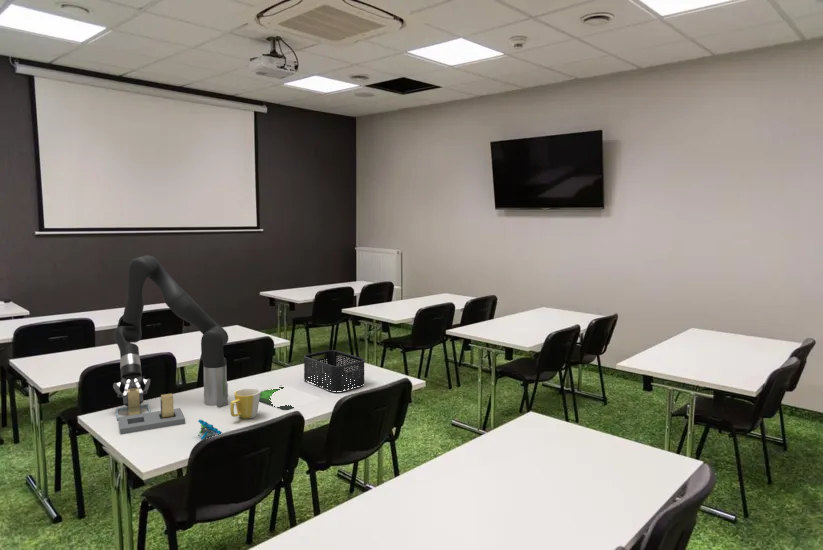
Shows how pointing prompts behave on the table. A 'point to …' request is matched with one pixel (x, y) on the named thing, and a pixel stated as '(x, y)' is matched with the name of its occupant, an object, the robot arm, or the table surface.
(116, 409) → the light blue tray
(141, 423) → the grey slotted fixture block
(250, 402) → the mug
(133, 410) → the brass billet
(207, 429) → the blue and green toy
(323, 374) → the storage bin
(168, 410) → the seated billet
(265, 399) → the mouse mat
